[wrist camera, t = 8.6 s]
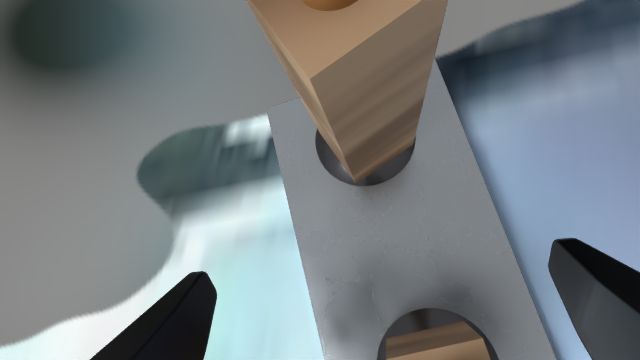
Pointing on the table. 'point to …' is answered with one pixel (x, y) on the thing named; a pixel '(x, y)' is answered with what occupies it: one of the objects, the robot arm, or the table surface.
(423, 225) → the plate
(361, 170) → the point post
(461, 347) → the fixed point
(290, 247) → the table surface
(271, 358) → the table surface
